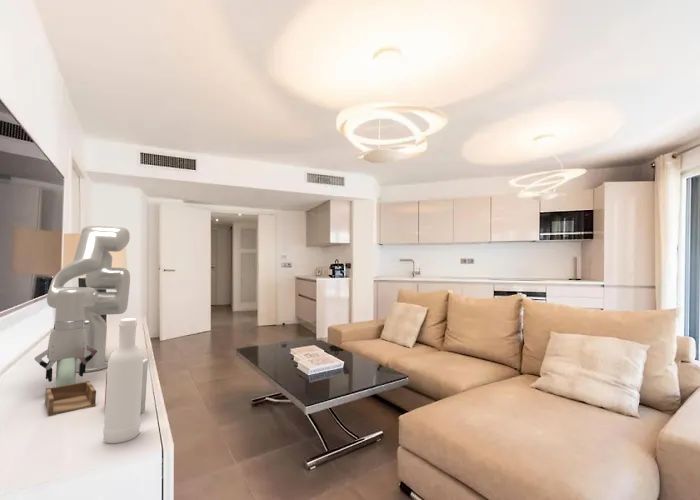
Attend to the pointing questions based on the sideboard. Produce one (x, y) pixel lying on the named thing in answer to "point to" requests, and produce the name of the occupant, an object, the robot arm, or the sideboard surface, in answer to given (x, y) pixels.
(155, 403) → the sideboard surface
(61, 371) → the bottle
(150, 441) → the sideboard surface
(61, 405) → the u rest
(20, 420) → the sideboard surface
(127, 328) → the bottle
